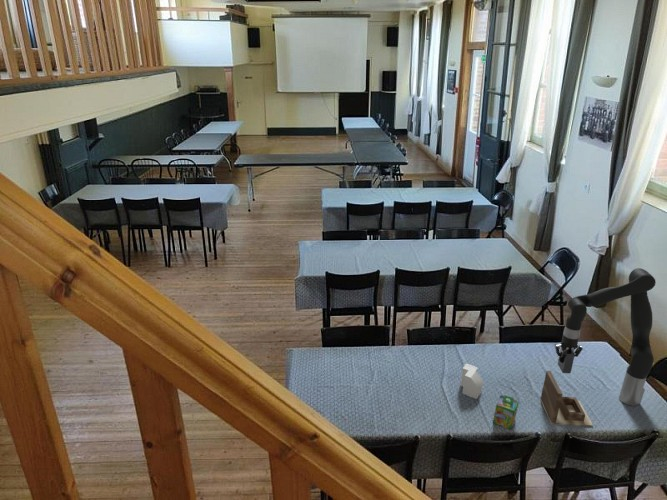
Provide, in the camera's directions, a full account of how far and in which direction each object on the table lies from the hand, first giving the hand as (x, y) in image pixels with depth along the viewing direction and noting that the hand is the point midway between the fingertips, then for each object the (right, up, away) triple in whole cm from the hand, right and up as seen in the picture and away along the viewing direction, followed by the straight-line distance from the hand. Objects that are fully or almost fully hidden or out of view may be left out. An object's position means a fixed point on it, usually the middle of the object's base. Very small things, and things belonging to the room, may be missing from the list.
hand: (565, 361), depth 258 cm
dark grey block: (0, -4, +2) cm, 4 cm away
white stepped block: (-48, -18, +9) cm, 52 cm away
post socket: (-5, -24, -8) cm, 26 cm away
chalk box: (-37, -27, -13) cm, 48 cm away
